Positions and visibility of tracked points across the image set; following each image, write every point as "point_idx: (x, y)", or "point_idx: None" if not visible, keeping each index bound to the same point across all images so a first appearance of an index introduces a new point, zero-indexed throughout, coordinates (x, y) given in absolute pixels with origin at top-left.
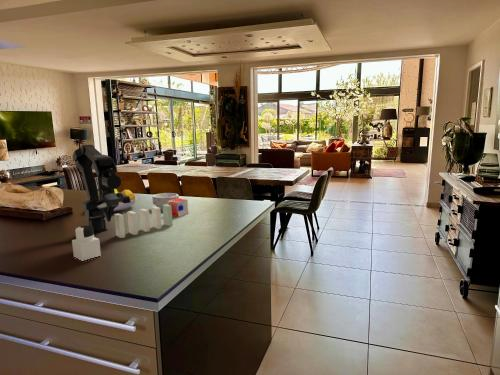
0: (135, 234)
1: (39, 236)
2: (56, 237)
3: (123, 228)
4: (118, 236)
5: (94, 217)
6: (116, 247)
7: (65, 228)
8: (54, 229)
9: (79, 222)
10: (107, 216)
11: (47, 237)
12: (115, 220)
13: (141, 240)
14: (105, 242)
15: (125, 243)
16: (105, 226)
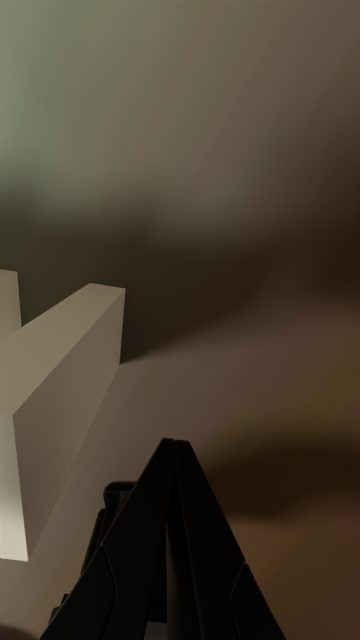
0: (1, 269)
1: (347, 609)
2: (325, 562)
3: (64, 307)
4: (121, 329)
5: (150, 634)
6: (285, 82)
7: None
8: None
9: None
10: (208, 519)
11: (343, 584)
12: (71, 452)
13: (23, 50)
14: (249, 296)
15: (171, 118)
16: (100, 519)
